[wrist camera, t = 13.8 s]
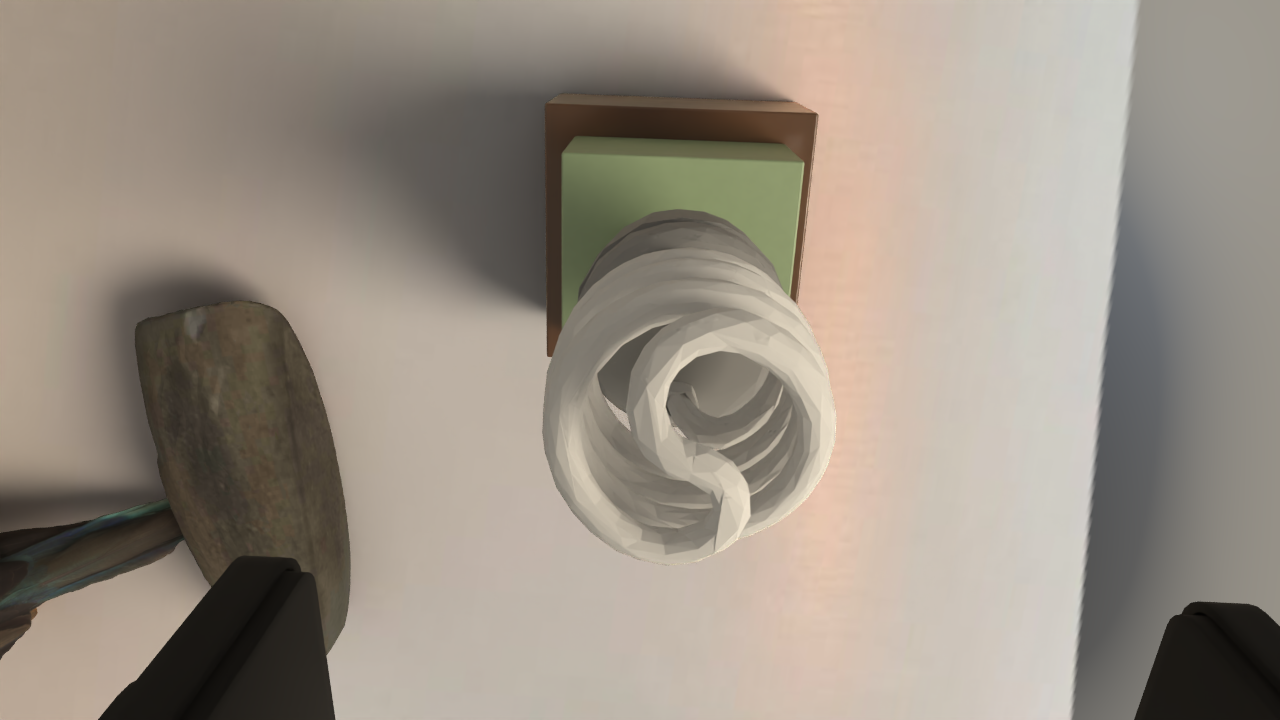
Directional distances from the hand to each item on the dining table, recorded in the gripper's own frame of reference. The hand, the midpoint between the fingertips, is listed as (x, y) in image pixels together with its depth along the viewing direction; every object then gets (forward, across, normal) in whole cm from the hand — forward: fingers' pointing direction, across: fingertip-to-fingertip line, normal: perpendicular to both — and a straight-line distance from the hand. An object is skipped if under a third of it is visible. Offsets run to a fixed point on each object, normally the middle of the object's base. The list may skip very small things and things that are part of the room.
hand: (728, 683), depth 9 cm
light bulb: (+17, 0, 0) cm, 17 cm away
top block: (+21, 0, 0) cm, 21 cm away
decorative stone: (+25, +18, +12) cm, 33 cm away
